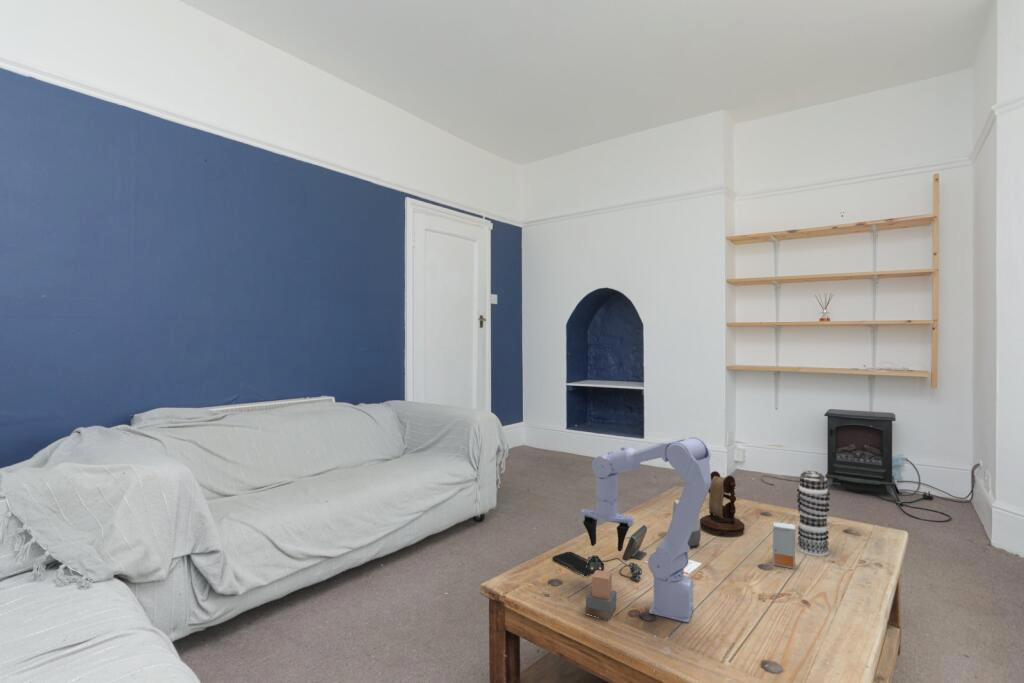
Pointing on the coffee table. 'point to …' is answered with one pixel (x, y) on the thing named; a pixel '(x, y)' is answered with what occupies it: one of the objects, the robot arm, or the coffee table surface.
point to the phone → (573, 562)
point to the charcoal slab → (601, 602)
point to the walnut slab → (600, 612)
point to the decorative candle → (813, 513)
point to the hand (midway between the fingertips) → (606, 547)
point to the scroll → (722, 506)
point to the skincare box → (784, 545)
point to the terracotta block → (602, 584)
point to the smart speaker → (695, 533)
